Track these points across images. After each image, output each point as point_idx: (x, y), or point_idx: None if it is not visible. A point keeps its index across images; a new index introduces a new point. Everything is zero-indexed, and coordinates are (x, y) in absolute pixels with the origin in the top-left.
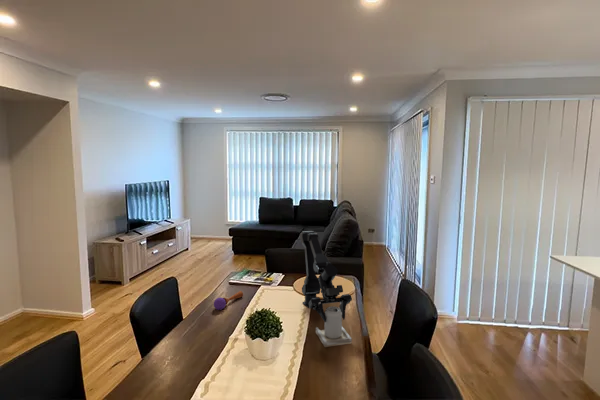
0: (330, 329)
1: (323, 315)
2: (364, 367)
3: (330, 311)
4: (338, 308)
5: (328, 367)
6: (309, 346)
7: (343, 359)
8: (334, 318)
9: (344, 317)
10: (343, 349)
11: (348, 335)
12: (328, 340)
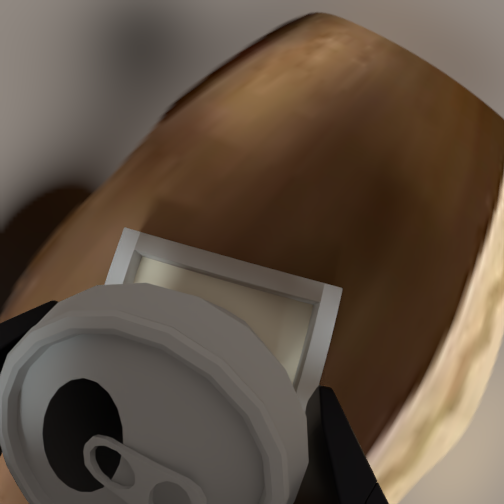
0: (260, 339)
1: (354, 453)
2: (240, 65)
3: (209, 463)
4: (10, 431)
5: (395, 139)
6: (408, 347)
7: (294, 140)
8: (218, 308)
9: (43, 307)
10: (231, 210)
11: (114, 273)
12: (270, 337)
